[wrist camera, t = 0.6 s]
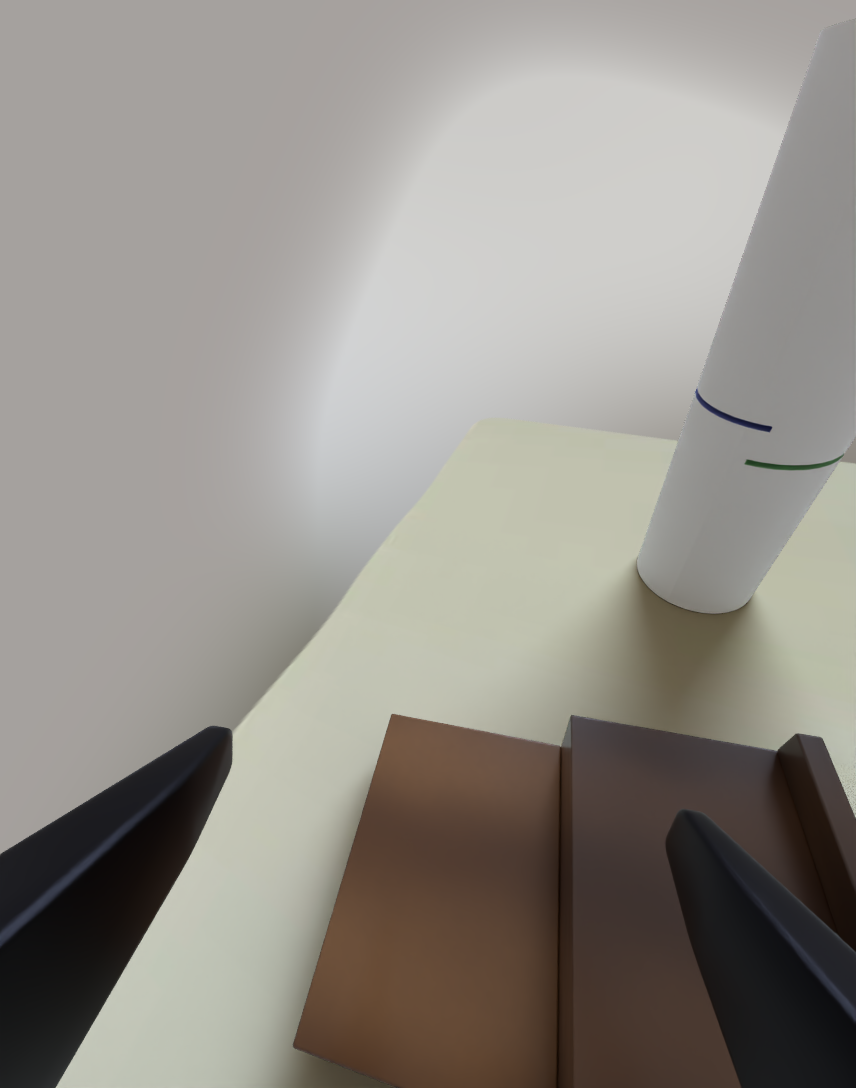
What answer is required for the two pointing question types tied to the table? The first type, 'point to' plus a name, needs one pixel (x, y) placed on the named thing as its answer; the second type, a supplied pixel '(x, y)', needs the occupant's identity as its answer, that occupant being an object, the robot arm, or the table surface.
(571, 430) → the table surface
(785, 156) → the cylindrical container
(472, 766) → the brown wooden stepped block
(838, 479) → the table surface
